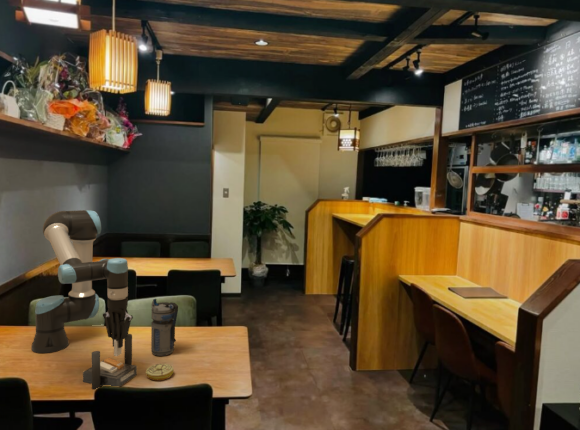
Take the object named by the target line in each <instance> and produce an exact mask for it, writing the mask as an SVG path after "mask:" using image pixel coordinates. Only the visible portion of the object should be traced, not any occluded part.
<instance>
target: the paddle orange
mask: <svg viewBox="0 0 580 430" xmlns="http://www.w3.org/2000/svg"><path fill="white" fill-rule="evenodd" d="M103 360H104V363H107V364H109V365H111V366H114V367H116V368H118V369H120V368H121V367H123V366H124V364H123V363H124V362H121V361H118V360H116V359H113V358H110V357H107V358H105V359H103Z"/></svg>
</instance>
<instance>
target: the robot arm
mask: <svg viewBox="0 0 580 430" xmlns="http://www.w3.org/2000/svg"><path fill="white" fill-rule="evenodd" d="M101 232H102V223H101V219H100V216H99V214H98V213H97V212H96V211H94V210H90V209H87V210H86V209H85V210H81V209H80V210H78V209H77V210H59V211H57V212H54V213H52V214H51V215H49V216H48V217H47V218H46V219H45V221H44V223H43V226H42V233H43V235H44V238H45V240H47V241H49V242H50V245H51V247H52V249H53V251H54V254H55V257H56V258H57V260H58V264H59V266H58V268H57V277H58V281H59V283H60V284H62V285H65V284H71V290H70V291H69V292H68V297H64V295H62V294H61V295H59V294H58V295H51V296H47V297H44V298H41V299H40V300H38V301H36V304H35V309H34V310H35V311H34V314H35V334H34V337H33V341H32V342H31V351H32V352H33V353H37V354H50V353H53V352H58V351H62V350H63V349H66V348H67V347H68V346H69V344H70V343H69V338H68V335H67V332H66V330H65V324H66V323H72V322H78V321H84V320H88V319H92V318H95V317H96V316H97V314H98V313H99V308H100V297H99V295H98V294H97V293H96V291H95V290H94V289H93V281H98V280H99V281H100V280H106V282H107V285H106V286H107V287H106V288H107V290H106V291H107V295H106V296H107V300H106V301H107V312H103V313H102V317H103V319H104V322H105V328H106V332H107V333H106V334H107V337H108V338H111V340H112V347H113V356H114V357H119V356H121V355H122V349H123V346H124V340H125V338H127V336H128V334H129V331H130V326H131V321H132V320H133V319H134V316H133V315H130V314H129V313H128V312H129V311H128V305H129V303H128V302H129V301H128V296H129V293H128V292H129V290H128V289H129V287H128V283H129V282H128V281H129V279H128V277H129V273H128V272H129V265H128V264H129V263H128V260H127V259H126V258H121V257H115V258H110V259H109V258H102V259H100V260H98V261H97V260H95V261H93V252H94V251H93V245H94V241H95V240H96V239H97V235H100V234H101Z"/></svg>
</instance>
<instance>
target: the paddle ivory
mask: <svg viewBox="0 0 580 430" xmlns="http://www.w3.org/2000/svg"><path fill="white" fill-rule="evenodd" d="M100 368H101V369H103V370H106V371H108V372H110V373H113V372H115V371H117V368H116V367H114V366H111V365H109V364H107V363H104V362H101V361H100Z"/></svg>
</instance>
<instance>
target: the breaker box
mask: <svg viewBox="0 0 580 430" xmlns="http://www.w3.org/2000/svg"><path fill="white" fill-rule="evenodd" d="M104 360H105V359H103V360H100V362H104ZM122 363H123V364H124V366H123V367H121V368H120V369H118V368H117V371H115V372H113V373H110V372H108V371H106V370H103V369H101V368H100V387H101V386H103V385H111V386H120V387H122V386H124V384H126V383H128V382H129V381H130V380H132V379H133V378H135V377H136V376H137V375H138V373H137V372H138V365H134V364H132V365H130V364H125V363H124V362H122ZM82 382H83V383H87V384H91V385H92V366H91V367H89V368H87V369H85V370H84V371H82ZM103 387H104V386H103Z"/></svg>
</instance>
